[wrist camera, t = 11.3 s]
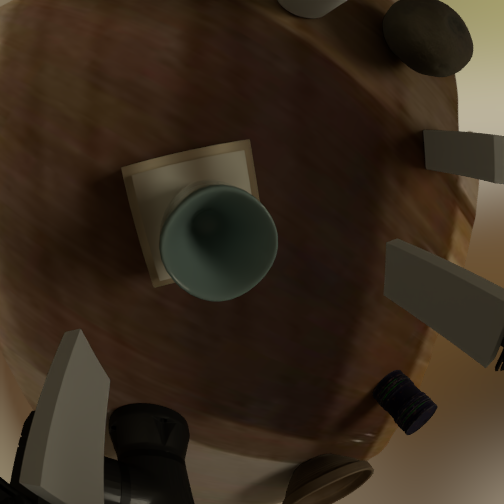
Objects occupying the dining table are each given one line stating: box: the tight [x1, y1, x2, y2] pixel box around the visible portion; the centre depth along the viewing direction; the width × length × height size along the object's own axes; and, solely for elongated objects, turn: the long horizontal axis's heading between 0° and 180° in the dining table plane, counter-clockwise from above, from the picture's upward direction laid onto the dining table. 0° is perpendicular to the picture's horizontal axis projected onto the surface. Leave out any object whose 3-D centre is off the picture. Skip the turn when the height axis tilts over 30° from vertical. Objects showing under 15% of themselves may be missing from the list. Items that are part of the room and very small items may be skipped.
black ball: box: [383, 0, 473, 77], centre depth 25 cm, size 14×14×15 cm
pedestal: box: [121, 139, 260, 288], centre depth 29 cm, size 13×13×6 cm
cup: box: [159, 179, 278, 301], centre depth 22 cm, size 8×8×10 cm
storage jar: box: [373, 370, 437, 435], centre depth 52 cm, size 10×10×15 cm
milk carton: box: [423, 130, 504, 184], centre depth 32 cm, size 7×7×19 cm
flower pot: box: [282, 454, 374, 504], centre depth 59 cm, size 28×28×13 cm
